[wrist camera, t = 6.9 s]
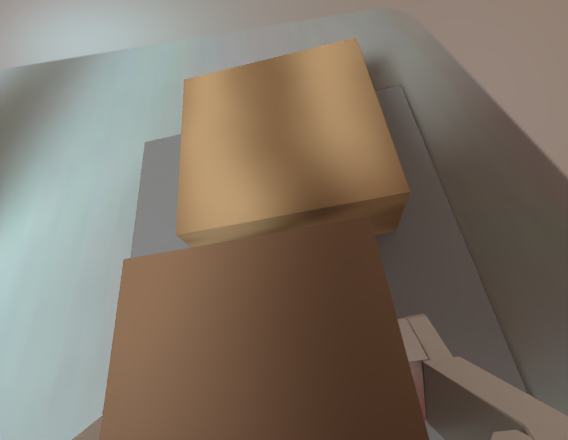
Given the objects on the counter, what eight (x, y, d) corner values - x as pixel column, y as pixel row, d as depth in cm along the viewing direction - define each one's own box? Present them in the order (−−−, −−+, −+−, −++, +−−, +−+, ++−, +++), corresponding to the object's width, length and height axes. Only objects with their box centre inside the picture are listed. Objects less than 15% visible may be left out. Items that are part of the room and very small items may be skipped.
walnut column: (266, 440, 12) (74, 618, 4) (258, 325, 14) (123, 259, 6) (377, 429, 12) (473, 602, 3) (353, 312, 14) (369, 216, 5)
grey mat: (109, 501, 13) (100, 506, 13) (149, 147, 22) (144, 142, 22) (549, 465, 11) (558, 469, 11) (399, 92, 20) (400, 84, 20)
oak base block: (211, 263, 17) (175, 235, 13) (210, 127, 21) (184, 79, 18) (395, 231, 16) (410, 191, 12) (354, 95, 20) (356, 37, 17)
